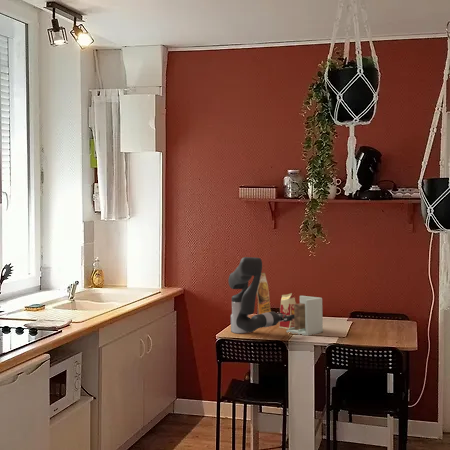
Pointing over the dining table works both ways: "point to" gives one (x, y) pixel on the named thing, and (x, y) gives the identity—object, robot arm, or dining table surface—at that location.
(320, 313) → the cabinet frame
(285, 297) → the red cream food bag
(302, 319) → the brown wooden block
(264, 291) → the pancake mix bag
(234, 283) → the robot arm
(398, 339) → the dining table surface
